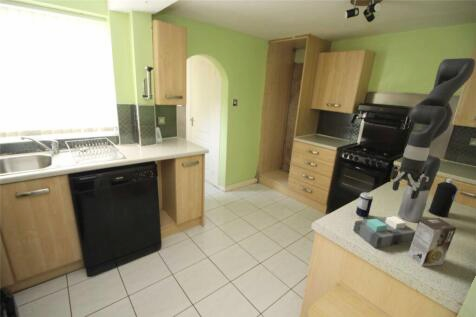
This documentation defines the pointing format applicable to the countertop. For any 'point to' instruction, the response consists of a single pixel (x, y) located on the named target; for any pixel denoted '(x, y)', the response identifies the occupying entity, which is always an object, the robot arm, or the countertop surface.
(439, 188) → the aerosol can
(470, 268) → the countertop surface
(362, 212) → the beverage can
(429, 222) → the coffee box
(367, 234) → the key console
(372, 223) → the teal key
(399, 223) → the cream key
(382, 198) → the countertop surface
